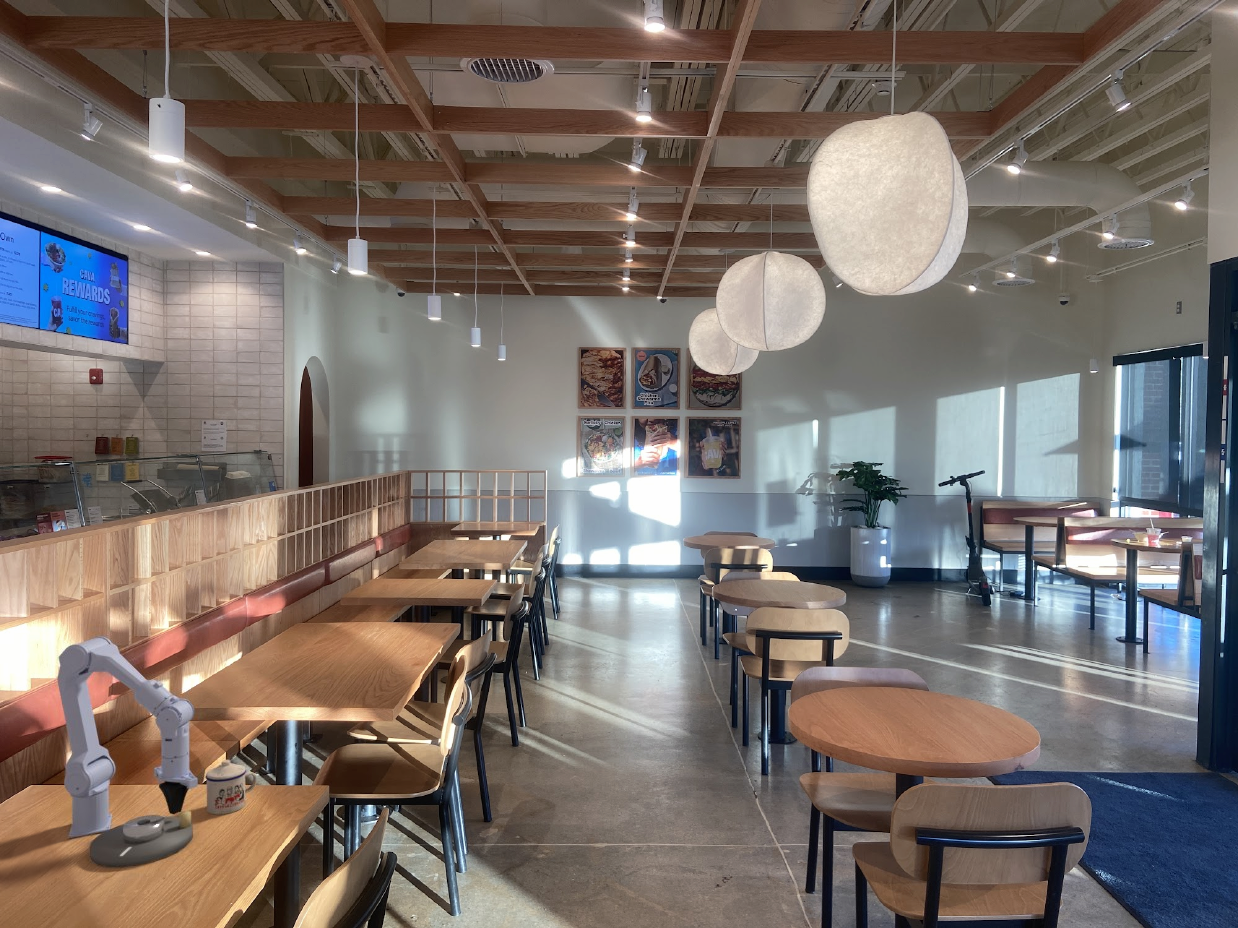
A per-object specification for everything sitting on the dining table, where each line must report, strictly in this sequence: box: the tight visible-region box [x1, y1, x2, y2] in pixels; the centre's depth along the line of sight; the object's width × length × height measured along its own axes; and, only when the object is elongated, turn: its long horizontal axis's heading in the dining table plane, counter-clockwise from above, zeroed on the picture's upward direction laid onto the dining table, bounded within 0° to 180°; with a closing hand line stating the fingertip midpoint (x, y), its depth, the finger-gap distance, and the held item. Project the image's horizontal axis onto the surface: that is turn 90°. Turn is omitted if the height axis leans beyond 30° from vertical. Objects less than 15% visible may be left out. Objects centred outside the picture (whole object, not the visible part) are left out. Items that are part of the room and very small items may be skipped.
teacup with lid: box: [205, 759, 258, 815], centre depth 207 cm, size 12×9×12 cm
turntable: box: [89, 810, 194, 868], centre depth 186 cm, size 20×20×5 cm
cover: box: [123, 814, 165, 844], centre depth 186 cm, size 8×8×3 cm
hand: (175, 812), depth 194 cm, fingers closed
